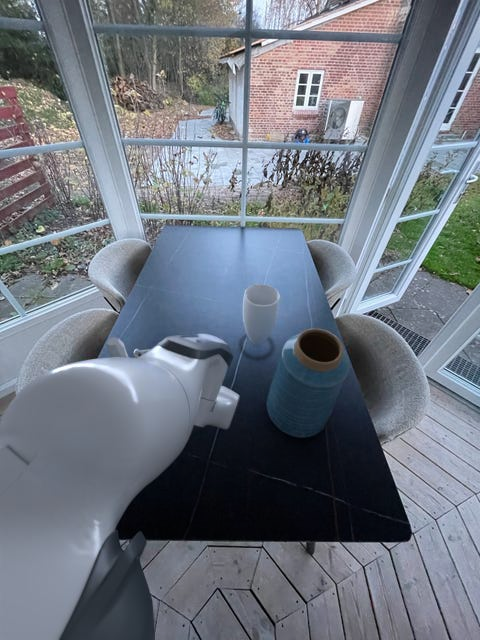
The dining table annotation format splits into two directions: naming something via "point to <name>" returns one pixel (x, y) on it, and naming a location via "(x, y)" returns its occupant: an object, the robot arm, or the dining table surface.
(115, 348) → the faceted bottle
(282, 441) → the dining table surface
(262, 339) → the cup
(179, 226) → the dining table surface
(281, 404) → the vase
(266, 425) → the dining table surface
